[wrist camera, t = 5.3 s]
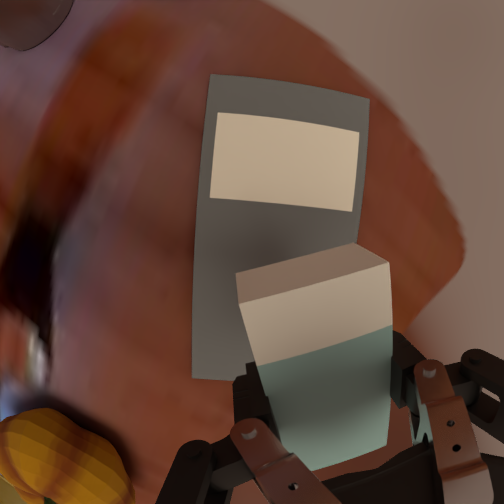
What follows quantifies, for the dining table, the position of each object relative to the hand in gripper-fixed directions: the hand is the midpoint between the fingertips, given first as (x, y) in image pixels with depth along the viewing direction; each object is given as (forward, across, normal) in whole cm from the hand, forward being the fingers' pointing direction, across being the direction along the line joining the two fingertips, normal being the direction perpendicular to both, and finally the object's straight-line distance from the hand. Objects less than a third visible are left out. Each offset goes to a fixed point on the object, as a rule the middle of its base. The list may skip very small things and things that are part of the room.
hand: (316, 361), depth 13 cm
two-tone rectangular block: (0, 0, 0) cm, 0 cm away
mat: (+14, -1, -2) cm, 14 cm away
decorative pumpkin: (+14, +33, +19) cm, 40 cm away
